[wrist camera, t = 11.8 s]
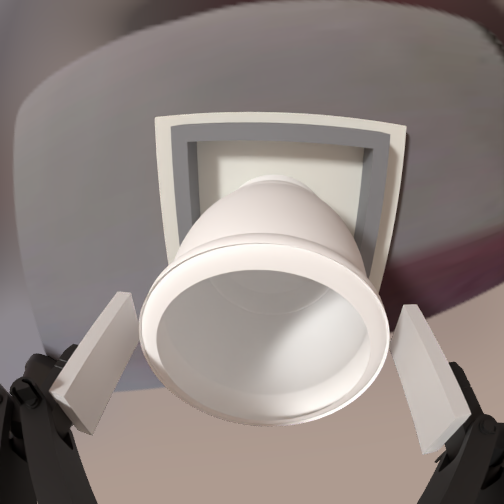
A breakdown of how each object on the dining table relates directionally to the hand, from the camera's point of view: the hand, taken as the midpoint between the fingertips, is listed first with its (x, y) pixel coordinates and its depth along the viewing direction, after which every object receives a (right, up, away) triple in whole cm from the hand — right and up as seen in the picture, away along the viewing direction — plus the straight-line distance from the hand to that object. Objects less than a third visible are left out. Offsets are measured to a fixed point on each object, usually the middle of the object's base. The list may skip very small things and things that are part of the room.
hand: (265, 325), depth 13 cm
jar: (+1, +6, +11) cm, 13 cm away
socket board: (+2, +6, +12) cm, 14 cm away
